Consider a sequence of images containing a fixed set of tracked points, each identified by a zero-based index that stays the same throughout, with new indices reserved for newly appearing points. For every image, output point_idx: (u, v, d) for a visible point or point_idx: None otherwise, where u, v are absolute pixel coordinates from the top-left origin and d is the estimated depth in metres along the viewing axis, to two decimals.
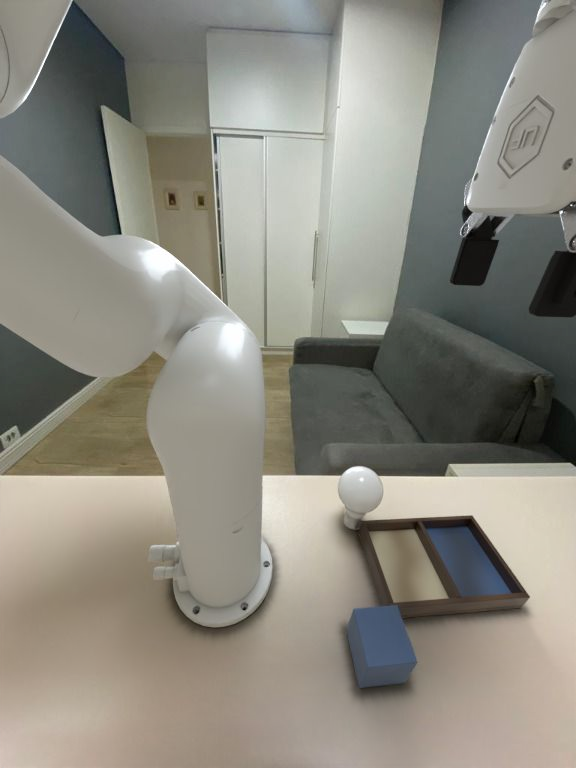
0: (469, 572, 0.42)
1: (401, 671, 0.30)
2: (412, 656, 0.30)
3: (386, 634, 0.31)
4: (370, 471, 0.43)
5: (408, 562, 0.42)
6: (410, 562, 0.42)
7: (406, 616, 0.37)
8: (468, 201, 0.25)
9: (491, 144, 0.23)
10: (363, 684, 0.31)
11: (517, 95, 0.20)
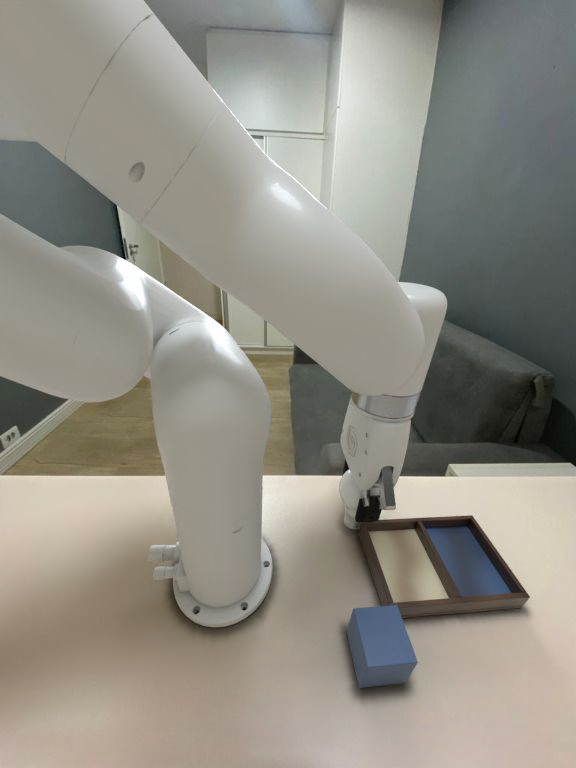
0: (469, 572, 0.42)
1: (401, 671, 0.30)
2: (412, 656, 0.30)
3: (386, 634, 0.31)
4: None
5: (408, 562, 0.42)
6: (410, 562, 0.42)
7: (406, 616, 0.37)
8: (340, 440, 0.44)
9: (345, 423, 0.42)
10: (363, 684, 0.31)
11: (350, 414, 0.40)
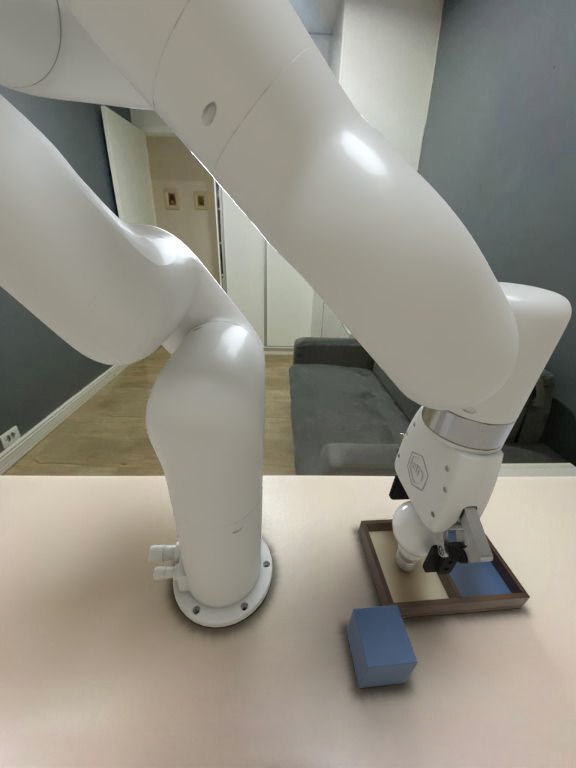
0: (469, 572, 0.42)
1: (401, 671, 0.30)
2: (412, 656, 0.30)
3: (386, 634, 0.31)
4: None
5: None
6: None
7: (406, 616, 0.37)
8: (395, 466, 0.38)
9: (405, 447, 0.36)
10: (363, 684, 0.31)
11: (415, 438, 0.33)
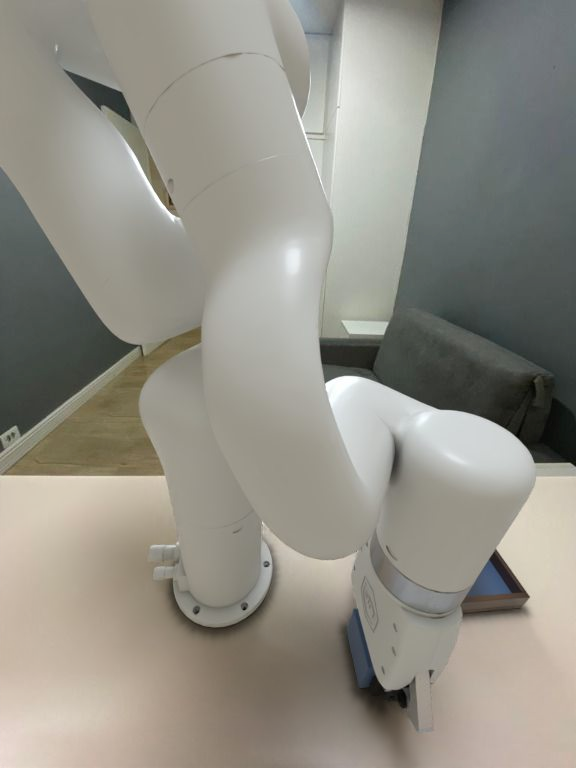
0: None
1: None
2: None
3: None
4: None
5: None
6: None
7: None
8: (351, 577, 0.33)
9: (359, 564, 0.31)
10: (363, 684, 0.31)
11: (367, 563, 0.28)
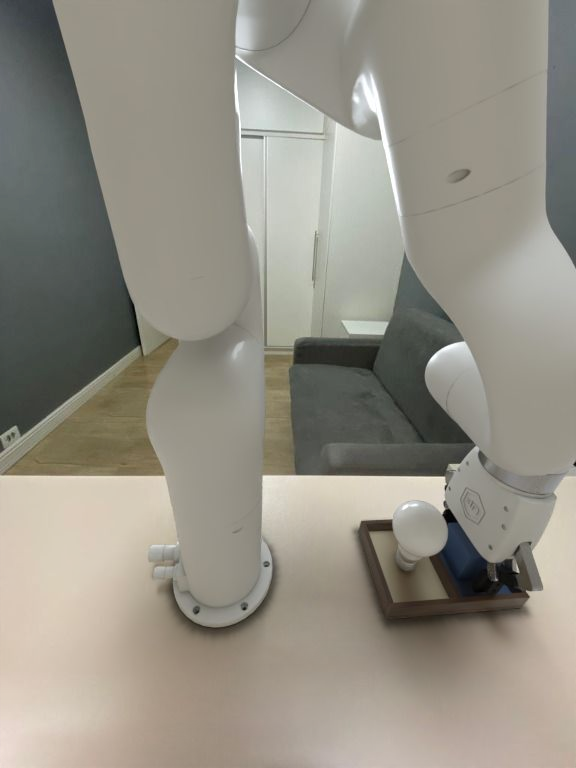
0: None
1: None
2: None
3: None
4: (432, 508, 0.37)
5: None
6: None
7: (406, 616, 0.37)
8: (445, 497, 0.42)
9: (457, 482, 0.40)
10: (462, 576, 0.40)
11: (469, 476, 0.37)
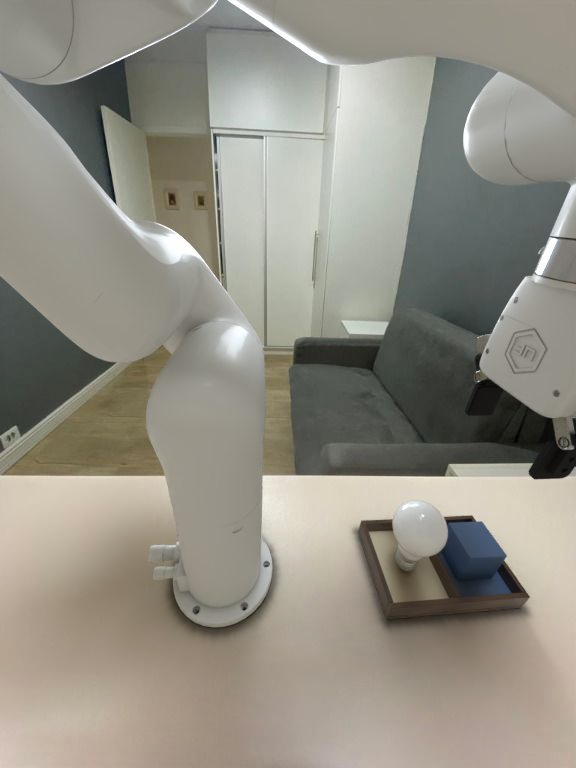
0: None
1: (492, 564, 0.39)
2: (502, 552, 0.39)
3: (478, 539, 0.40)
4: (432, 508, 0.37)
5: None
6: None
7: (406, 616, 0.37)
8: (481, 366, 0.32)
9: (499, 335, 0.30)
10: (462, 576, 0.40)
11: (520, 315, 0.27)
